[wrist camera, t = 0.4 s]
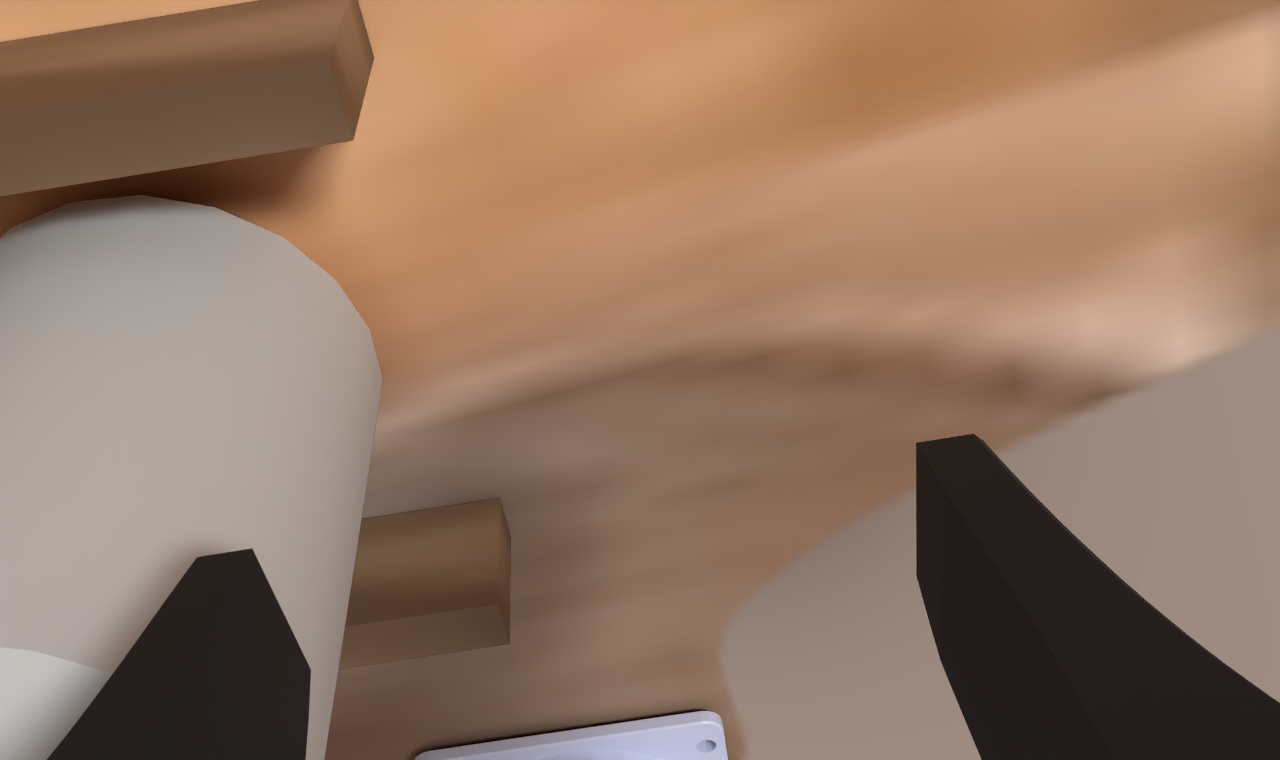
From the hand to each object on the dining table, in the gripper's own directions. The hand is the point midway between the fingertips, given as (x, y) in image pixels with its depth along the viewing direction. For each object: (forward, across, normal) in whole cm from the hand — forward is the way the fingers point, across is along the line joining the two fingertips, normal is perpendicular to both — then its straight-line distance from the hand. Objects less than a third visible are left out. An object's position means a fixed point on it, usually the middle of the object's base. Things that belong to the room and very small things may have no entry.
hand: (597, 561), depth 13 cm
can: (+10, +8, +3) cm, 13 cm away
